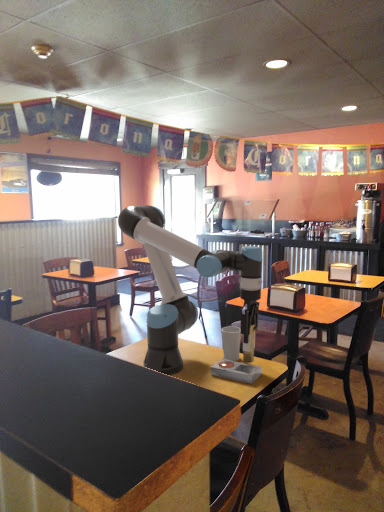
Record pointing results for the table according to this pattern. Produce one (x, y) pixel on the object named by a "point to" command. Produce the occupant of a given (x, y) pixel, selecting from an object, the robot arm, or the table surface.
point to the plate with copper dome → (236, 371)
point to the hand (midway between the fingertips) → (248, 348)
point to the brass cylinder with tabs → (249, 356)
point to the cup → (231, 342)
